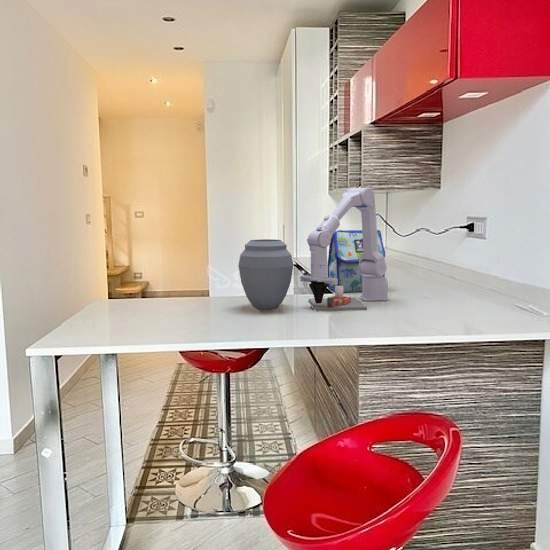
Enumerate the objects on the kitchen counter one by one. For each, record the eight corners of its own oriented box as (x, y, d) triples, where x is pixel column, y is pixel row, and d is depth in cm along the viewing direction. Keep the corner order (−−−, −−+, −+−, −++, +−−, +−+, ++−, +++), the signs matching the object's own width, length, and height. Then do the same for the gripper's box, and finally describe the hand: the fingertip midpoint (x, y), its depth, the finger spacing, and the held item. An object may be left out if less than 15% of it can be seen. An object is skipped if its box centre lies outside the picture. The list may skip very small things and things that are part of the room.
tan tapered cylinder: (341, 305, 191) (341, 299, 191) (342, 306, 189) (342, 300, 189) (336, 305, 191) (337, 299, 191) (337, 306, 189) (337, 300, 189)
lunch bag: (338, 294, 220) (338, 231, 217) (325, 288, 236) (325, 229, 233) (387, 292, 225) (389, 230, 222) (371, 286, 241) (372, 228, 238)
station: (354, 300, 206) (355, 282, 205) (366, 309, 187) (367, 290, 186) (308, 301, 205) (308, 283, 204) (316, 310, 186) (316, 291, 185)
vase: (301, 305, 196) (301, 239, 193) (279, 315, 178) (279, 242, 175) (254, 302, 204) (253, 238, 201) (228, 311, 186) (227, 241, 183)
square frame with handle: (333, 299, 200) (333, 292, 200) (350, 301, 198) (351, 293, 197) (320, 306, 188) (320, 297, 188) (338, 307, 185) (338, 299, 185)
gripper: (295, 264, 190) (295, 302, 191) (330, 267, 181) (329, 306, 182) (306, 262, 195) (306, 299, 197) (341, 265, 186) (340, 303, 188)
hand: (318, 303), depth 190 cm, fingers closed
